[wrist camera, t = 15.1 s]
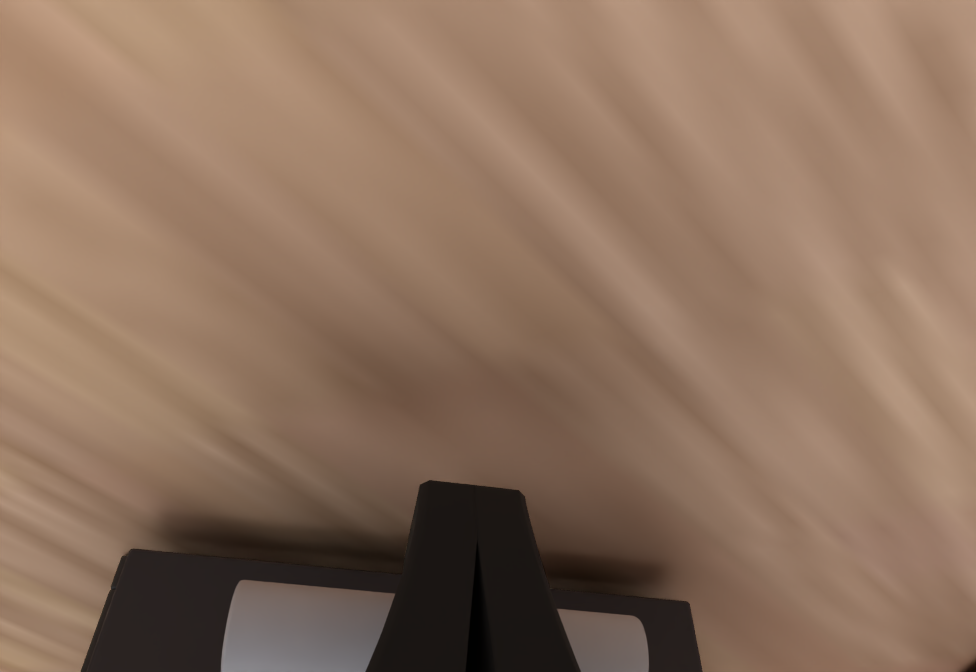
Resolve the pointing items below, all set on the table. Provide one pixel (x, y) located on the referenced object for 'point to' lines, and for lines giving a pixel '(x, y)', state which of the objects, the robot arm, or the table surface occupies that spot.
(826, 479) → the table surface
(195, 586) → the basket
